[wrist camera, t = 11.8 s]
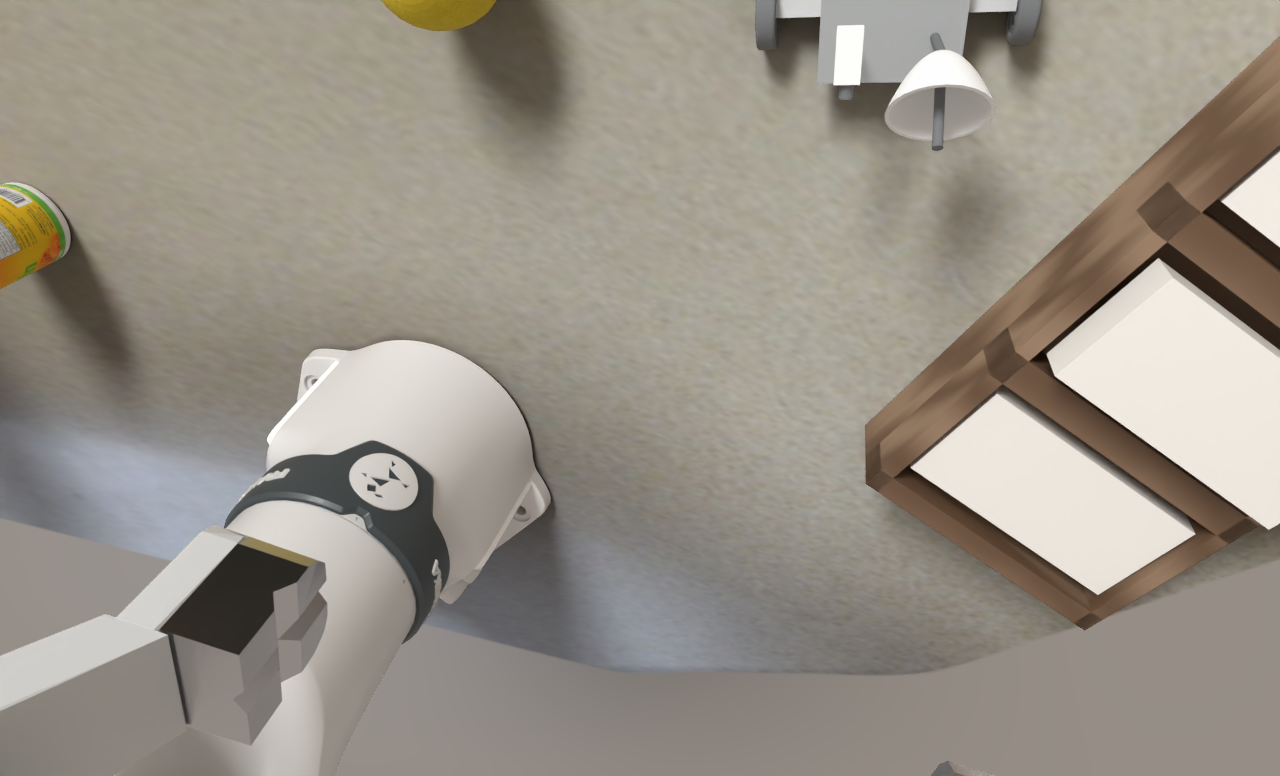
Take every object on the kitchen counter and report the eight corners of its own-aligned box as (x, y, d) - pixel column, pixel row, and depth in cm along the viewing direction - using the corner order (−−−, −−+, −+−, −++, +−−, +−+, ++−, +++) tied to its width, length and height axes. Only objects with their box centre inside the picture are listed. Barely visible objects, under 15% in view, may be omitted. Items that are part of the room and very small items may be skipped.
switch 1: (1089, 569, 47) (1097, 594, 45) (908, 445, 45) (910, 467, 43) (1182, 508, 43) (1195, 534, 42) (991, 372, 42) (996, 393, 40)
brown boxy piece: (1068, 563, 51) (1088, 633, 46) (865, 425, 49) (865, 483, 44) (1603, 208, 35) (1713, 260, 31) (1336, -18, 33) (1412, 2, 29)
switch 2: (1251, 502, 40) (1268, 529, 38) (1046, 353, 38) (1054, 376, 37) (1377, 424, 37) (1401, 450, 35) (1158, 258, 35) (1172, 277, 33)
